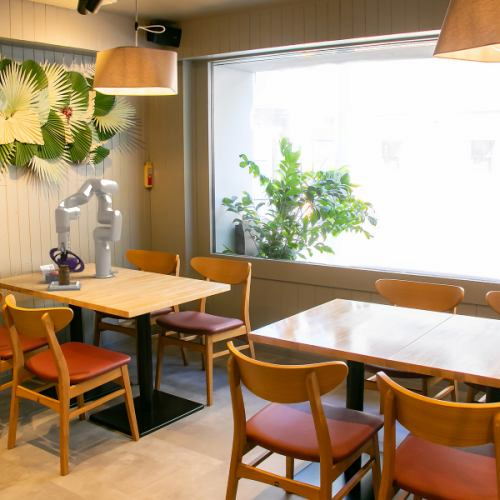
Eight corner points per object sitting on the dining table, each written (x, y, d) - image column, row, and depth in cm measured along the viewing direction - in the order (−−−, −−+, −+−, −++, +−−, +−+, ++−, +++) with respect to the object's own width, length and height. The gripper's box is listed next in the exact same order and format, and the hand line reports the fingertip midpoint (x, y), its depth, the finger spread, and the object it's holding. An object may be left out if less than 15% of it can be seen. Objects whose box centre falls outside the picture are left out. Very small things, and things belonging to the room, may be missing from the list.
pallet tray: (81, 284, 364) (81, 280, 364) (80, 290, 349) (80, 285, 349) (49, 285, 361) (49, 281, 360) (46, 291, 345) (46, 286, 345)
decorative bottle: (68, 275, 395) (66, 236, 391) (43, 272, 403) (41, 234, 400) (91, 270, 415) (90, 233, 411) (66, 267, 423) (65, 231, 420)
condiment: (67, 284, 360) (67, 264, 358) (73, 286, 353) (73, 266, 351) (55, 286, 355) (54, 265, 353) (61, 288, 348) (60, 267, 347)
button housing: (64, 280, 378) (64, 272, 377) (63, 283, 368) (62, 275, 367) (47, 280, 376) (46, 272, 375) (45, 284, 366) (45, 275, 365)
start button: (59, 275, 374) (59, 270, 374) (58, 277, 369) (58, 272, 369) (50, 275, 373) (50, 270, 373) (50, 277, 368) (49, 272, 368)
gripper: (57, 228, 358) (58, 257, 361) (54, 231, 341) (56, 262, 344) (70, 227, 359) (72, 256, 362) (68, 231, 343) (70, 261, 345)
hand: (64, 259), depth 353 cm, fingers open, 9 cm apart
